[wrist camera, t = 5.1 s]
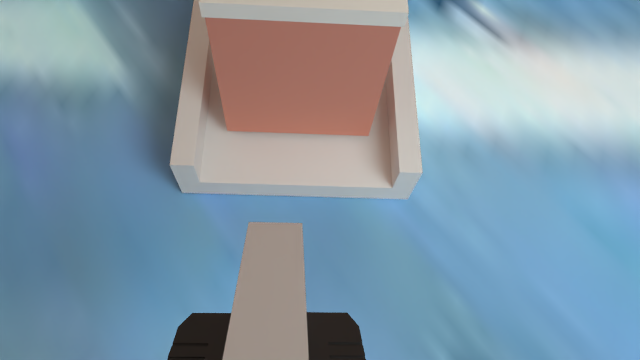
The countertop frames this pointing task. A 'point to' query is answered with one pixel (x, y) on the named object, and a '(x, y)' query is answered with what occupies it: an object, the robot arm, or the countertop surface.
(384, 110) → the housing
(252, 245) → the robot arm
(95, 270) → the countertop surface
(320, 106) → the orange rectangular block
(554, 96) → the countertop surface
